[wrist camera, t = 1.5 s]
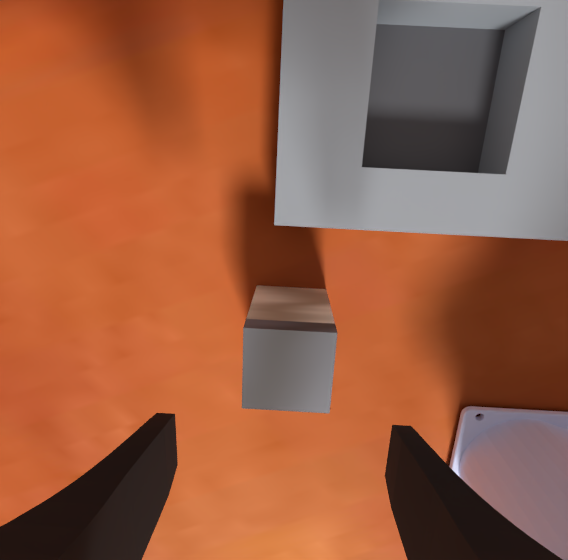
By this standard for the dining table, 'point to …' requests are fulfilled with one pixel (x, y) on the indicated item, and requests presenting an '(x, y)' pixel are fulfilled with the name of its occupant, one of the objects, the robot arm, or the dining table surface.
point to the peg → (288, 350)
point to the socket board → (424, 117)
